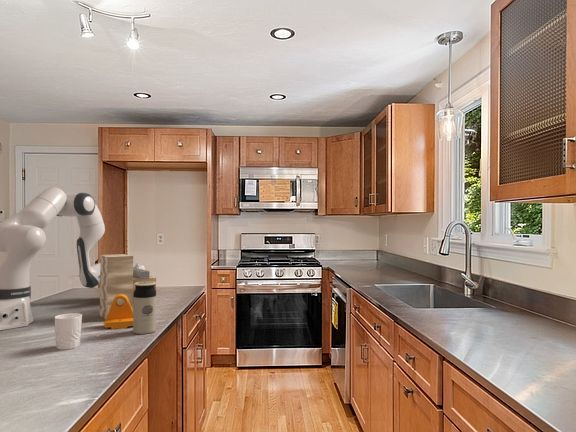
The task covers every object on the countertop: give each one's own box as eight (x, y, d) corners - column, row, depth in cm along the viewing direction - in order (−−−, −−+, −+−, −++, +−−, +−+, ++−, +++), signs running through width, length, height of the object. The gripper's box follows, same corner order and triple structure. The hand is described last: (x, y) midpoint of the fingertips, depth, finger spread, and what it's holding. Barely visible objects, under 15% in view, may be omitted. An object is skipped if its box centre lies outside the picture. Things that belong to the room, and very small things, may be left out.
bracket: (103, 329, 154) (104, 297, 154) (105, 325, 161) (106, 294, 161) (134, 327, 158) (134, 296, 158) (135, 323, 164) (135, 293, 165)
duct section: (125, 274, 192) (125, 267, 192) (133, 273, 194) (134, 267, 194) (140, 279, 176) (140, 272, 176) (149, 278, 179) (149, 271, 179)
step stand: (99, 315, 177) (100, 255, 177) (145, 309, 190) (146, 253, 190) (107, 320, 168) (108, 257, 168) (155, 314, 180) (156, 255, 181)
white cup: (75, 341, 139) (75, 312, 139) (86, 346, 134) (86, 315, 134) (50, 347, 133) (50, 316, 133) (60, 352, 128) (60, 319, 128)
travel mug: (133, 329, 154) (133, 281, 154) (155, 328, 157) (155, 281, 157) (132, 335, 147) (133, 285, 147) (156, 333, 150) (156, 284, 150)
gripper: (96, 272, 200) (103, 260, 190) (138, 270, 212) (147, 258, 203) (98, 285, 197) (105, 273, 188) (140, 281, 210) (149, 270, 201)
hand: (127, 265), depth 196 cm, fingers open, 8 cm apart
